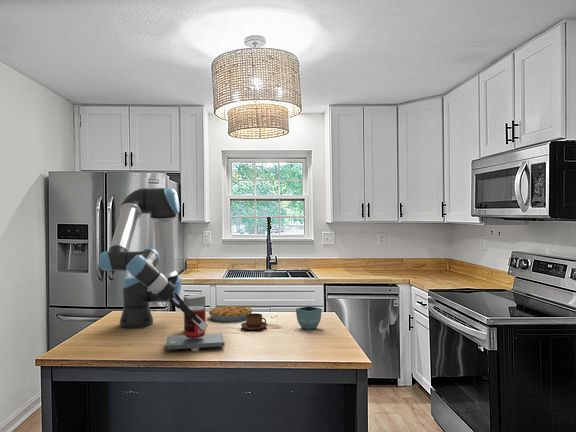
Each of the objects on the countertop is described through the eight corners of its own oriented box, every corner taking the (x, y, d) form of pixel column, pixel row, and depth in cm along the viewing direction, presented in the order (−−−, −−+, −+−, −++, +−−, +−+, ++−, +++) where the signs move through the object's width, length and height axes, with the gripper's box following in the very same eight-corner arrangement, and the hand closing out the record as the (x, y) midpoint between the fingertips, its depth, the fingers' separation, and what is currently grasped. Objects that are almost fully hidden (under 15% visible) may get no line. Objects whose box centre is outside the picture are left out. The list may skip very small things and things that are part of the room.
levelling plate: (167, 343, 191) (167, 335, 191) (222, 340, 195) (222, 332, 195) (165, 353, 177) (165, 344, 177) (224, 349, 182) (224, 341, 182)
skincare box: (200, 327, 217) (200, 293, 217) (206, 331, 211) (206, 295, 211) (182, 330, 212) (182, 295, 212) (188, 333, 206) (188, 297, 206)
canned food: (206, 332, 190) (206, 305, 190) (203, 338, 182) (203, 309, 182) (187, 333, 190) (186, 305, 190) (183, 338, 182) (183, 309, 182)
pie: (240, 324, 224) (240, 314, 224) (200, 321, 231) (200, 310, 231) (259, 315, 244) (259, 305, 244) (221, 312, 252) (221, 302, 252)
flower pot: (308, 331, 209) (308, 311, 209) (295, 328, 215) (295, 308, 215) (322, 328, 215) (322, 308, 215) (309, 324, 221) (308, 305, 221)
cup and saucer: (268, 325, 221) (268, 312, 221) (265, 332, 209) (265, 318, 209) (243, 325, 222) (243, 312, 222) (238, 331, 211) (238, 317, 210)
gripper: (151, 290, 190) (192, 326, 196) (157, 299, 171) (202, 339, 177) (165, 276, 192) (204, 313, 198) (172, 284, 173) (216, 323, 179)
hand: (203, 325), depth 187 cm, fingers closed on canned food, 8 cm apart
